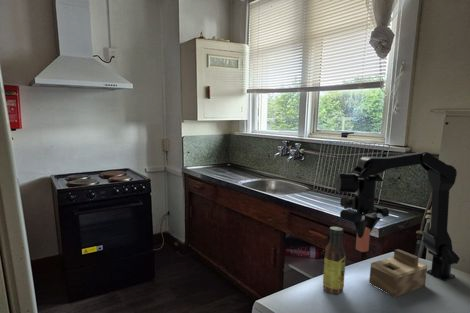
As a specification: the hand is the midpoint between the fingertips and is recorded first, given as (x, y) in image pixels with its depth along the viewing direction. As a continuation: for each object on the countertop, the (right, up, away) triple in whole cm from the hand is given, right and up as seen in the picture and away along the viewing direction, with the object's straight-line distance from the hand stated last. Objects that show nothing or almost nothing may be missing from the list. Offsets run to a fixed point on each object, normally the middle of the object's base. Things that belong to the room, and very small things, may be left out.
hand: (363, 236), depth 106 cm
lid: (+9, -8, -7) cm, 14 cm away
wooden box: (+8, -14, -7) cm, 18 cm away
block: (0, -5, 0) cm, 5 cm away
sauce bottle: (-14, -14, -11) cm, 23 cm away
